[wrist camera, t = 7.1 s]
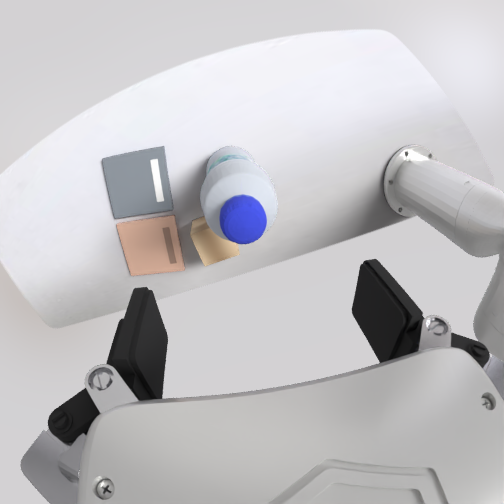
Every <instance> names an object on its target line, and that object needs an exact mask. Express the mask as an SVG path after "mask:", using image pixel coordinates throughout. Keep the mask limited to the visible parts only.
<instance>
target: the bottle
mask: <svg viewBox="0 0 504 504" xmlns="http://www.w3.org/2000/svg"><path fill="white" fill-rule="evenodd" d="M200 202H201V207H202V210H203V212H204V216H205V219H206V222H207V224H208V226H209V227H210V229H211V230H212V231H213V232H214V233H215V234H216V235H218V236H219V237H221V238H223V239H225V240H228V241H232V242H235V243H237V244H249V243H251V242H254V241H256V240H258V239H259V238H260V237H261V236H262V235H263V234H264V233H265V232H267V231H268V230H269V228H270V227H271V226H272V224H273V222H274V221H275V218H276V215H277V210H278V202H277V197H276V192H275V187H274V184H273V181H272V179H271V178H270V176H269V175H268V173H267V172H266V171H265V170H264V169H262V168H261V167H260V166H259V165H257V164H256V163H255V161H254V159H253V158H252V156H251V155H250V154H249V153H248V152H247V151H246V150H244V149H242V148H239V147H235V146H226V147H224V148H221V149H219V150H218V151H216V152H214V153H213V154H212V156H211V157H210V159H209V161H208V164H207V167H206V178H205V180H204V182H203V185H202V188H201V192H200Z"/></svg>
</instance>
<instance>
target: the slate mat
mask: <svg viewBox="0 0 504 504" xmlns="http://www.w3.org/2000/svg"><path fill="white" fill-rule="evenodd" d="M102 161H103V167H104V172H105V177H106V182H107V187H108V192H109V196H110V201H111V205H112V209H113V213H114V217H115V219H116V218H122V217H128V216H135V215H141V214H148V213H155V212H162V211H169V210H173V203H172V197H171V191H170V184H169V178H168V171H167V164H166V156H165V149H164V146H162V147H156V148H150V149H145V150H140V151H135V152H130V153H125V154H120V155H116V156H111V157H107V158H103V159H102Z"/></svg>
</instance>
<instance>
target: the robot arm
mask: <svg viewBox="0 0 504 504" xmlns="http://www.w3.org/2000/svg"><path fill="white" fill-rule="evenodd" d="M384 193H385V197H386V200H387V202H388V204H389V205H390V207H391V208H392V209H393V210H394V211H395V212H397V213H398V214H400V215H402V216H406V217H413V216H418V217H420V218H421V219H423V220H424V221H425V222H427V223H428V224H430V225H431V226H433V227H434V228H435V229H437V230H438V231H439V232H441V233H442V234H443V235H445V236H446V237H447V238H448V239H450V240H451V241H452V242H454V243H455V244H456V245H457V246H459V247H460V248H461V249H463V250H464V251H465V252H467V253H468V254H470V255H472V256H475V257H488V256H493V255H496V254H499V261H498V264H497V267H496V270H495V273H494V275H493V277H492V280H491V282H490V284H489V286H488V288H487V290H486V292H485V294H484V297H483V299H482V301H481V303H480V305H479V307H478V309H477V311H476V314H475V317H474V323H473V327H474V333H475V336H476V338H477V339H478V341H479V342H478V341H475V340H472V339H469V338H466V337H463V336H460V335H457V334H454V333H451V326H450V324H449V323H448V322H447V321H446V320H445V319H444V318H442V317H440V316H437V315H430V316H427V317H426V318H424V317H423V316H422V314H423V313H422V311H421V310H420V309H419V308H418V306H417V305H416V304H415V303H414V301H413V300H412V299H411V298H410V297H409V295H408V294H407V293H406V292H405V291H404V290H403V288H402V287H401V286H400V285H399V284H398V283H397V281H396V280H395V279H394V278H393V277H392V276H391V275H390V273H389V272H388V271H387V270H386V269H385V268H384V267H383V266H382V265H381V263H380V262H379V261H378V260H376V259H372V260H366V261H364V262H363V264H361V266H360V270H359V276H358V281H357V287H356V292H355V297H354V302H353V306H352V314H353V316H354V318H355V319H356V321H357V323H358V325H359V326H360V328H361V330H362V332H363V333H364V335H365V336H366V338H367V340H368V342H369V344H370V345H371V347H372V349H373V351H374V353H375V354H376V356H377V358H378V360H379V362H380V363H379V364H376V365H372V366H369V367H365V368H362V369H358V370H354V371H351V372H347V373H343V374H339V375H335V376H331V377H326V378H322V379H317V380H313V381H308V382H303V383H298V384H293V385H287V386H282V387H276V388H269V389H263V390H256V391H249V392H241V393H232V394H223V395H212V396H200V397H186V398H168V399H162V394H163V381H164V371H165V362H166V352H167V344H168V337H167V332H166V329H165V327H164V324H163V321H162V318H161V315H160V312H159V309H158V306H157V303H156V300H155V297H154V294H153V291H152V290H148V288H147V287H142V288H135V289H134V290H133V293H132V296H131V299H130V302H129V305H128V308H127V311H126V314H125V317H124V319H121V320H120V321H119V324H118V327H117V330H116V333H115V336H114V339H113V343H112V346H111V350H110V353H109V356H108V360H107V364H102V365H97V366H95V367H93V368H92V369H91V370H89V372H88V373H87V375H86V377H85V386H86V388H85V389H84V390H82V391H81V392H79V393H78V394H77V395H75V396H74V397H72V398H71V399H69V400H68V401H66V402H65V403H64V404H62V405H61V406H59V407H58V408H56V409H55V410H54V411H53V412H52V413H51V415H50V416H49V420H48V426H49V429H48V430H47V431H42V433H41V434H40V436H39V437H38V438H37V439H36V440H35V442H34V443H33V444H32V446H31V447H30V448H29V450H28V451H27V452H26V453H25V455H24V456H23V458H22V460H21V470H22V472H23V474H24V475H25V476H26V477H27V479H28V480H29V481H30V482H31V483H32V485H33V486H34V487H35V488H36V489H37V490H38V491H39V492H40V493H41V495H42V496H43V497H44V498H45V499H46V500H47V501H48V502H49V503H50V504H504V192H503V191H501V190H499V189H497V188H495V187H493V186H491V185H489V184H487V183H485V182H483V181H481V180H479V179H477V178H475V177H472V176H470V175H468V174H466V173H464V172H461V171H459V170H457V169H454V168H452V167H450V166H447V165H445V164H442V163H440V162H438V161H437V159H436V157H435V156H434V154H433V153H432V152H431V151H430V150H429V149H427V148H425V147H423V146H420V145H408V146H406V147H403V148H402V149H400V150H399V151H398V152H397V153H396V154H395V155H394V156H393V157H392V159H391V160H390V162H389V164H388V166H387V169H386V172H385V177H384ZM489 353H491V354H492V355H493V356H492V357H490V355H489ZM499 359H500V360H499ZM79 470H80V471H79ZM78 472H79V478H78Z"/></svg>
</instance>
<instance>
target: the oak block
mask: <svg viewBox="0 0 504 504" xmlns="http://www.w3.org/2000/svg"><path fill="white" fill-rule="evenodd" d="M190 236H191V238H192V240H193V243H194V245H195V247H196V249H197V251H198V253H199V255H200V257H201V259H202V262H203V264H204V266H207V265H210V264H213V263H216V262H219V261H222V260H225V259H228V258H231V257H234V256H237V255H240V254H239V248H238V244H237V243H235V242H232V241H228V240H225V239H223V238H221V237H219V236H218V235H216V234H215V233H214V232H213V231H212V230H211V229H210V227H209V226H208V224H207V222H206V219H205V216H203V217H201V218H198V219H195V220H193V221H192V227H191V233H190Z"/></svg>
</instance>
